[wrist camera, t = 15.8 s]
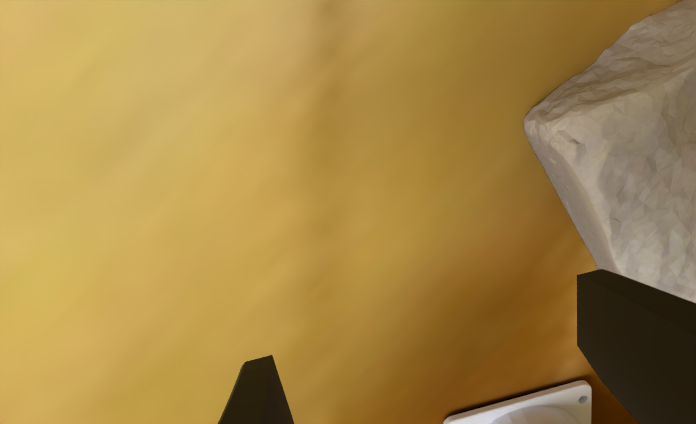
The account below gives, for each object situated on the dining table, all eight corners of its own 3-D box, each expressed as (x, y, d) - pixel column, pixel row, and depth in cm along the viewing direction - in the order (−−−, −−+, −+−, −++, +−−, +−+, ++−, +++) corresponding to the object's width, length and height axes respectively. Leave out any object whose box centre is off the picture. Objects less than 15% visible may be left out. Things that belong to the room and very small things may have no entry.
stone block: (667, -29, 21) (492, 125, 20) (798, -51, 17) (582, 144, 16) (734, 177, 26) (597, 307, 25) (848, 202, 22) (687, 358, 21)
